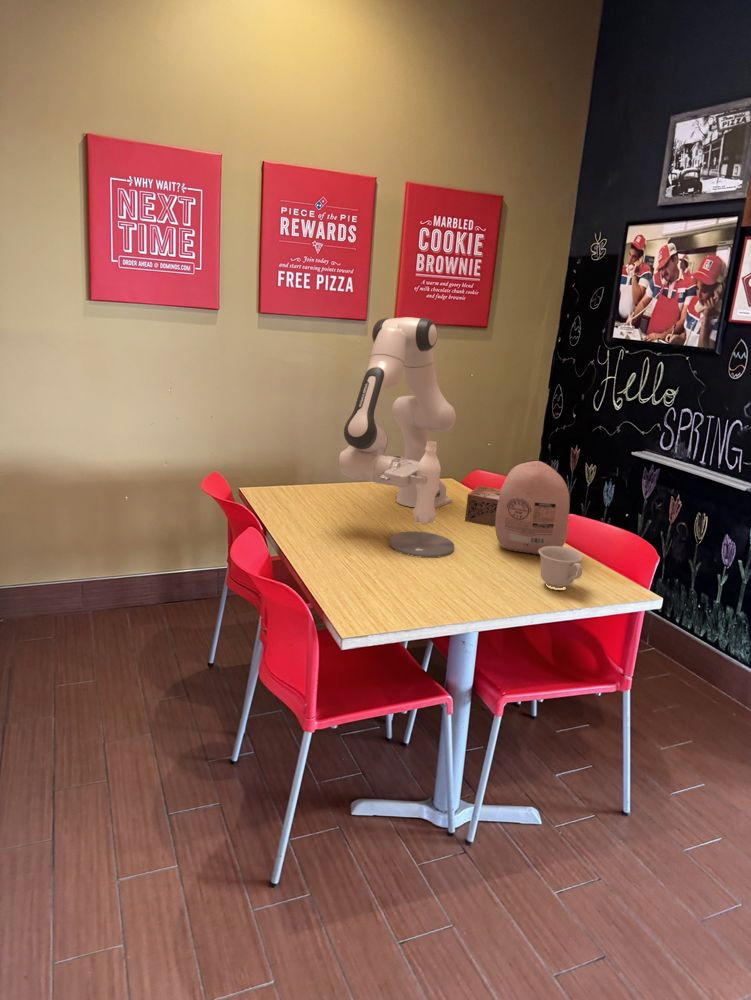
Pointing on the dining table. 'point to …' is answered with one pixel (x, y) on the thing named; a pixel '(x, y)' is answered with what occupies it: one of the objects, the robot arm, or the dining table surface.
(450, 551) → the plate
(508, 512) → the packaged food
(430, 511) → the water bottle
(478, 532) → the dining table surface
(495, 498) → the tissue box cover
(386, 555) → the dining table surface
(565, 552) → the teacup
